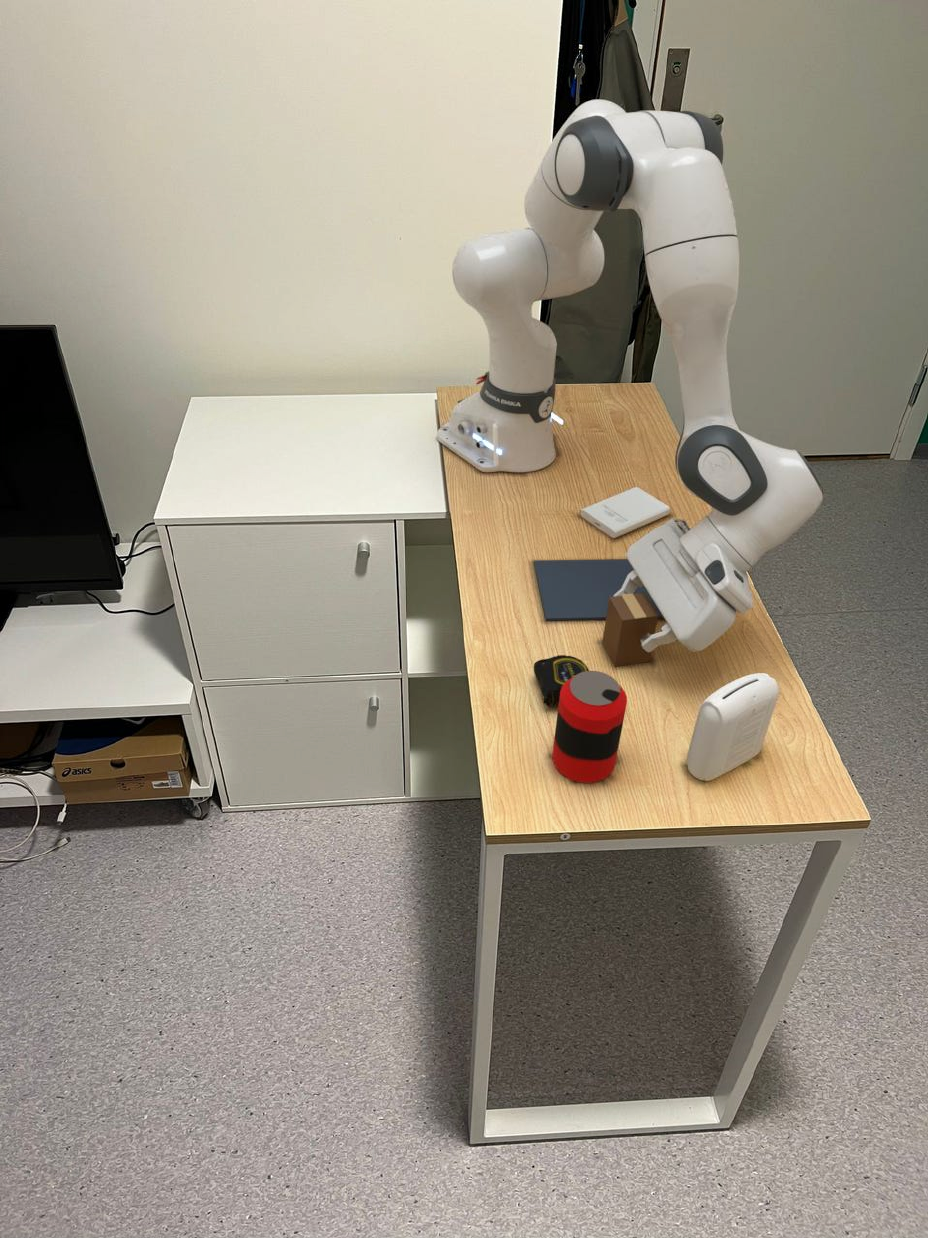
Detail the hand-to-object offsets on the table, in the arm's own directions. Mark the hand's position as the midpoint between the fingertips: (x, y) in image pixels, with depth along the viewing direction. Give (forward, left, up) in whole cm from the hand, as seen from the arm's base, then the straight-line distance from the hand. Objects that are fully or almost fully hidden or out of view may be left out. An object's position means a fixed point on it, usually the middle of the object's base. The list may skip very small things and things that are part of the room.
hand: (629, 624), depth 128 cm
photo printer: (+20, -8, -5) cm, 22 cm away
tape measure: (-1, -13, -5) cm, 14 cm away
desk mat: (-10, +10, -5) cm, 15 cm away
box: (0, 0, -5) cm, 5 cm away
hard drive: (-20, +28, -5) cm, 35 cm away
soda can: (+8, -20, -5) cm, 22 cm away
